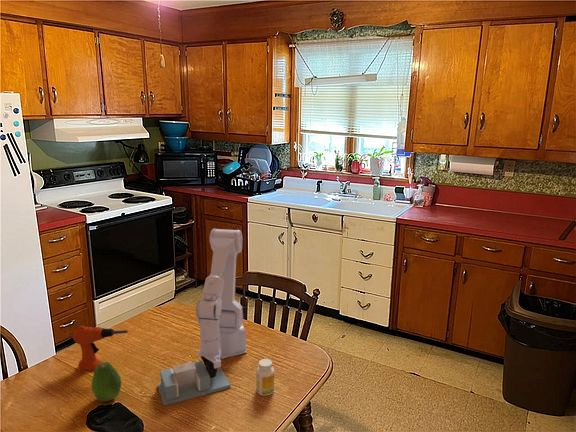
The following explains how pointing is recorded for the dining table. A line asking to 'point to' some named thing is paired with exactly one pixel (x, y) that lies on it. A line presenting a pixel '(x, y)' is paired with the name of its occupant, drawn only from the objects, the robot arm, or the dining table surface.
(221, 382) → the base
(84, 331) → the toy drill
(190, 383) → the steel block
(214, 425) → the dining table surface
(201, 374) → the block
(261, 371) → the supplement bottle
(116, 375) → the avocado
